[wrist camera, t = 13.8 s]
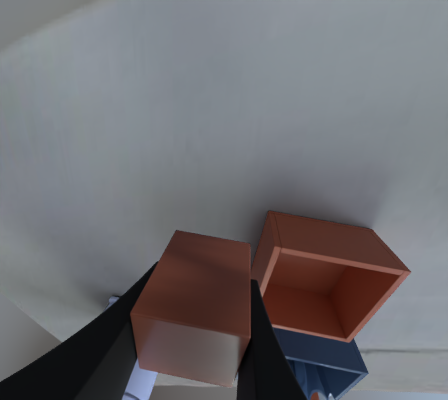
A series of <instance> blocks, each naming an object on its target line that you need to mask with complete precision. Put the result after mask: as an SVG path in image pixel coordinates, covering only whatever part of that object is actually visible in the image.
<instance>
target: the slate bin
mask: <svg viewBox="0 0 448 400" xmlns="http://www.w3.org/2000/svg"><path fill="white" fill-rule="evenodd" d="M273 329H274V332H275V334H276V337H277V339H278V341H279V344H280V346H281V348H282V350H283V352H284V355H285V357H286V359H287V361H288V363H289V365H290V367H291V361H290V359H291V360H296V361H301V362H305V363H310V364H315V365H320V366H322V367H323V370H324V373H325V376H326V379H327V382H328V385H329V387H330V390H331V392H332V395H333V398H334V400H339V399H340V398H341V397H342V396H343V395H345V394H346V393H347V392H348V391H349V390H350V389H351V388H353V387H354V386H355V385H356V384H357V383H358V382H359V381H361V380H362V379H363V378H364V377H365V376H366V375H367V374H369V373H368V371H367V368H366V366H365V364H364V361H363V359H362V357H361V354H360V352H359V350H358V347H357V345H356V343H355V340H354V338H353V339H352V340H351V341H350V342H349V343H348V342H344V341H339V340H334V339H329V338H324V337H319V336H314V335H309V334H304V333H299V332H295V331H290V330H285V329H280V328H275V327H273Z"/></svg>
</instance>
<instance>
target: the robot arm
mask: <svg viewBox="0 0 448 400" xmlns="http://www.w3.org/2000/svg"><path fill="white" fill-rule="evenodd" d="M158 262H159V261H157V262H156V263H155V264H154V265H153V266H152V267H151V268H150V269H149V270H148V271H147V272H146V273H145V274H144V275H143V276H142V277H141V278H140V279H139V280H138V281H137V282H136V283H135V284H134V285H133V286H132V287H131V288H130V289H129V290H128V291H127V292H126V293H125V294H124V295H123V296H121V297H120V298H119V297H114V296H112V297H110V298H109V304H108V306H107V307H106V309H105V310H104V312H103V313H102V314H100V315H99V316H98V317H97V318H95V319H94V320H93V321H91V322H90V323H89V324H88V325H86V326H85V327H84V328H82V329H81V330H79V331H78V332H77V333H75V334H74V335H73V336H71V337H70V338H68V339H67V340H66V341H64V342H63V343H61V344H60V345H58V346H57V347H55V348H54V349H52V350H51V351H49V352H48V353H46V354H45V355H43V356H41V357H40V358H38V359H37V360H35V361H34V362H32V363H31V364H29V365H28V366H26V367H24V368H23V369H21V370H20V371H18V372H16V373H14V374H13V375H11V376H10V377H8V378H6V379H4V380H3V381H1V382H0V400H149V397H150V394H151V391H152V388H153V385H154V382H155V379H156V376H157V373H158V372H154V371H149V370H144V369H140V368H139V363H138V357H137V351H136V345H135V340H134V334H133V328H132V322H131V316H130V312H131V311H132V309H133V307H134V305H135V303H136V302H137V300H138V298H139V296H140V294H141V293H142V291H143V289H144V287H145V285H146V284H147V282H148V280H149V278H150V276H151V275H152V273H153V271H154V269H155V267H156V266H157V264H158ZM250 286H251V337H250V340H249V343H248V345H247V348H246V351H245V353H244V356H243V359H242V362H241V364H240V367H239V370H238V385H237V400H308V399H307V397H306V395H305V394H304V392H303V390H302V388H301V386H300V385H299V383H298V381H297V379H296V377H295V375H294V373H293V371H292V369H291V367H290V365H289V363H288V361H287V359H286V357H285V355H284V352H283V350H282V348H281V346H280V344H279V341H278V339H277V337H276V334H275V332H274V329H273V327H272V324H271V321H270V319H269V316H268V313H267V311H266V308H265V305H264V302H263V299H262V295H261V292H260V288H259V284H258V281H257V280H254V279H250Z"/></svg>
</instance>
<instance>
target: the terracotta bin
mask: <svg viewBox="0 0 448 400" xmlns="http://www.w3.org/2000/svg"><path fill="white" fill-rule="evenodd" d="M410 273H411V271H410V270H409V269H408V268H407V267H406V266H405V265H404V263H403V262H402V261H401V260H400V259H399V258H398V257H397V256H396V255H395V254H394V253H393V252H392V250H391V249H390V248H389V247H388V246H387V245H386V244H385V243H384V242H383V241H382V240H381V239H380V237H379V236H378V235H377V234H376V233H375V232H374V231H373V230H372V229H367V228H361V227H356V226H350V225H345V224H339V223H334V222H328V221H323V220H317V219H312V218H306V217H301V216H295V215H290V214H284V213H279V212H274V211H268V214H267V218H266V221H265V224H264V228H263V231H262V234H261V238H260V241H259V245H258V248H257V251H256V255H255V258H254V261H253V265H252V268H251V271H250V279H254V280H257V281H258V284H259V288H260V292H261V295H262V299H263V302H264V305H265V308H266V311H267V313H268V316H269V319H270V321H271V324H272V327H275V328H280V329H285V330H290V331H295V332H299V333H304V334H309V335H314V336H319V337H324V338H329V339H334V340H339V341H344V342H348V343H349V342H350V341H351V340H352V339H353V338H354V337H355V336H356V335H357V333H358V332H359V331H360V330H361V329H362V328H363V327H364V325H365V324H366V323H367V322H368V321H369V320H370V319H371V317H372V316H373V315H374V314H375V313H376V312H377V311H378V310H379V308H380V307H381V306H382V305H383V304H384V303H385V302H386V300H387V299H388V298H389V297H390V296H391V295H392V294H393V292H394V291H395V290H396V289H397V288H398V287H399V286H400V284H401V283H402V282H403V281H404V280H405V279H406V278H407V276H408V275H409V274H410Z"/></svg>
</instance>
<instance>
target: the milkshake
mask: <svg viewBox="0 0 448 400" xmlns="http://www.w3.org/2000/svg"><path fill="white" fill-rule="evenodd" d="M290 361H291V369H292V371H293V373H294V375H295V377H296V379H297V381H298V383H299V385H300V386H301V388H302V390H303V392H304V394H305V395H306V397H307V399H308V400H334V398H333V395H332V392H331V390H330V387H329V385H328V382H327V379H326V376H325V373H324V370H323V367H322V366H320V365H315V364H310V363H305V362H301V361H296V360H291V359H290Z"/></svg>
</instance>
